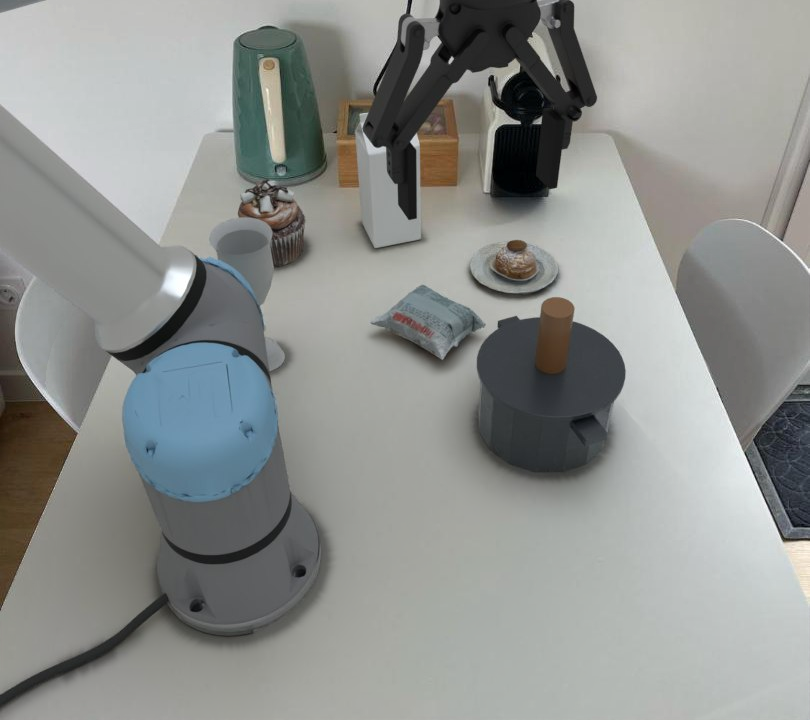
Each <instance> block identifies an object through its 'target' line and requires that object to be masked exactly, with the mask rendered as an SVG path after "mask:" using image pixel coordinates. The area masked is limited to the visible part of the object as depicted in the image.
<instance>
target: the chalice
mask: <svg viewBox="0 0 810 720" xmlns="http://www.w3.org/2000/svg"><path fill="white" fill-rule="evenodd" d="M272 233H273V232H272V230H271V227H270V226H269V225H268V224H267V223H266V222H263V221H261V220H259V219H255V218H239V217H235V218H230V219H228V220H225V221H223V222H220V223H219V224H217V225H216V226H214V227H213V229H212V230H211V231H210V233H209V236H208V241H209V244H210V246H211V247H212V248H213V249H214V250H215V251H216V256H217V260H220V261H222V262H224V263H226V264H228V265H230V266H231V267H233V268H234V269H235V270H237V271H238V272H239V273H240V274H241V275H242V276H243V277H244V278H245V279H246V281H247V282H248V283H249V285H250V286H251V288H252V290H253V292H254V294H255V297H256V299H257V301H258V305H259V306H260V307H261V306H262V305H263V304H264V303H265V302H266V299H267V296H268V294H269V292H270V290H271V287H272V282H273V278H274V272H275V266H273V260H272V254H271V248H270V241H271V239H272ZM262 316H263V317H264V314H263V313H262ZM266 329H267V326H266V325H265V324H264V332H265V331H266ZM265 344H266V351H267V358H268V364H269V370H270V372H273V371H274V370H277V369H278V368H279V367H281V366H282V365H283V363H284V362H285V359H286V354H285V352H284V350H283V349H282V348H281V346H280V345H279V343H278V342H277V341H276V340H275V339H273V338H271V337H269V336H265Z"/></svg>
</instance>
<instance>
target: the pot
mask: <svg viewBox="0 0 810 720" xmlns="http://www.w3.org/2000/svg"><path fill="white" fill-rule="evenodd" d="M517 320H521V319H520V318H519V317H518V315H514V316H509V317H506V318H503V319H499V320H497V326H496V327H497V329H499V328H500V327H502V326H504V325H506V324H509V323H511V322H514V321H517ZM478 391H479V392H478V410H477V411H478V414H477V416H478V417H477V419H478V432H479V434H480V436H481V438H482V440H483V441H484V443H485V444H486V446H487V448H488V449H489V451H490V452H492V453H493V454H494V455H496V456H497V457H499V458H500V459H502V460H503V461H504V462H506V463H507V464H509V465H511V466H513V467H517V468H520V469H523V470H527V471H529V472H532V473H565V472H568V471H570V470H574V469H577V468H580V467H582V466H585V465H587V464H588V463H589V462H590V461H591V460H592V459H594V458H595V457H596V456H597V455H598V454H599V453H601V452H602V450H603V447H604V445H605V441H607V439H608V433H609V427H610V423H611V420H612V419H611V418H612V413H613V409H614V406H615V405H614V404H615V401H614V402H613V403H612V404H611V405H609V406H608V407H607V408H605V409H604V410H602V411H600V412H598V413H597V414H594V415H591V416H589V417H586V418H582V419H577V420H570V421H546V420H539V419H534V418H530V417H527V416H524V415H521V414H518V413H516V412H514V411H511V410H509V409H508V408H506V407H504V406H503V405H501V404H500V403H498V402H497V401H496V400H494V399H493V398H492V397H491V396H490V395H489V394H488V392H487V391H486V390H485V389H484V387H483V385H482V384H481V382H480V381H479V390H478Z"/></svg>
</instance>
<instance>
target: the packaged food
mask: <svg viewBox="0 0 810 720" xmlns="http://www.w3.org/2000/svg"><path fill="white" fill-rule="evenodd" d="M369 323H370V324H371V325H374V326H376V327H378V328H384V329H385V330H386V331H388V332H390V333H393V334H394V335H397V336H399V337H401V338H403V339H406V340H408V341H410V342H412V343H414V344H416V345H418V346H419V347H420V348H423V350H426V351H427V352H429V353H430V354H432V355H433V356H435V357H437V358H439V359H440V360H441V361H444V359H445V358H446V356H447V354H448V353H449V352H450V351H451V349H452V348H453V347H458V346H459V344H460V342H462V341H463V340H464V339H465V338H466V336H467V335H471V333H476V331H478V330H481V329H482V328H483V329H484V328H485V327H486V323H485V321H483V320H482V319H481V317H480V316H479V315H477V313H476V312H474V310H473V309H472V308H471V307H468V306H467V305H463V304H461V303H458V302H457V301H453V300H451V299H450V298H448V297H446V296H444V295H442V294H440V293H439V292H437V291H435V290H433V289H432V288H430V287H428V286H427V285H425V284H421V285H419V286H417V287H416V288H415V289H413V290H411V291H409V292H408V293H407V295H405V296H404V297H403V298H402V299H400V300H399V301H398V302H397V303H396V304H394V305H393V306H392V307H391V308H390V309H389V310H388V311H387V312H385V313H383V314H381V315H378V316H376V317H375V318H373V319H370V322H369Z"/></svg>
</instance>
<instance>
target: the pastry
mask: <svg viewBox="0 0 810 720" xmlns="http://www.w3.org/2000/svg"><path fill="white" fill-rule="evenodd" d="M470 259H471V260H470V261H469V269H470V272H471V275H472V276H473V278H475V279H476V281H477V282H478V283H479V284H480V285H483V286H485V287H487V288H489V289H492V290H494V291H498V292H501V293H507V294H517V295H530V294H533V293H537V292H539V291H541V290H543V289H544V288H546V287H548V286H549V285H550V284H552V283H553V281H554V280H555V279H556V277H557V276H558V272H559V264H558V262H557V260H556V258H555V257H554V256H553V255H552V254H551V252H549V251H547V250H546V249H544V248H542V247H540V246H538V245H535V244H534V243H533V244H532V243H529V242H526V241H524V240H521V239H513V240H509V241H508V240H507V241H500V242H494V243H489V244H487V245H485V246H483V247H482V248H480V249H479V250H478V251H476V252H475V253H474V254H473V255H472V257H471V258H470Z"/></svg>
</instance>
